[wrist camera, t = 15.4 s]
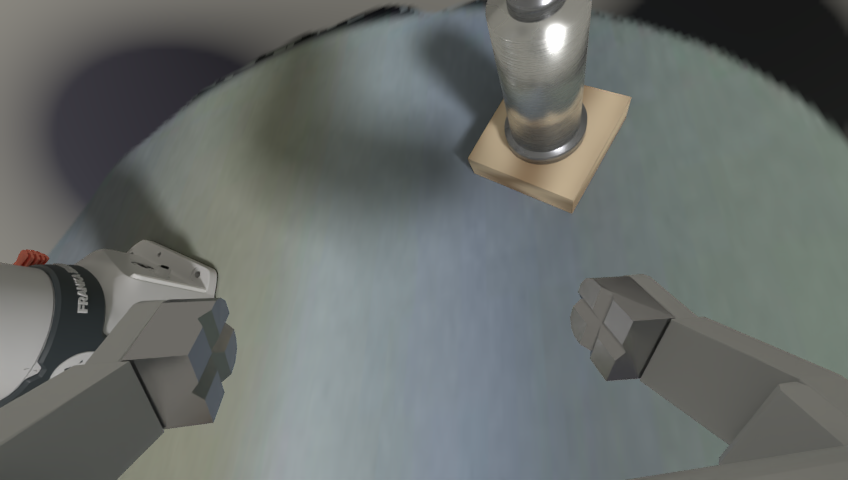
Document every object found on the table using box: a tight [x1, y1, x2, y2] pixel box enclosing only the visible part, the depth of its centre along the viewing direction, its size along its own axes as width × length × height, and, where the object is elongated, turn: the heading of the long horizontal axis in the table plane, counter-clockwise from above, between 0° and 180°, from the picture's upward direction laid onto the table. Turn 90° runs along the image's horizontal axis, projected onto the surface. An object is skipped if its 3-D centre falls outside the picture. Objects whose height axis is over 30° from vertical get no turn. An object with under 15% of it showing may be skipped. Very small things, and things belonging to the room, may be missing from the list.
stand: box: [468, 85, 631, 213], centre depth 33 cm, size 10×10×3 cm
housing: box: [486, 0, 592, 165], centre depth 25 cm, size 7×7×14 cm
